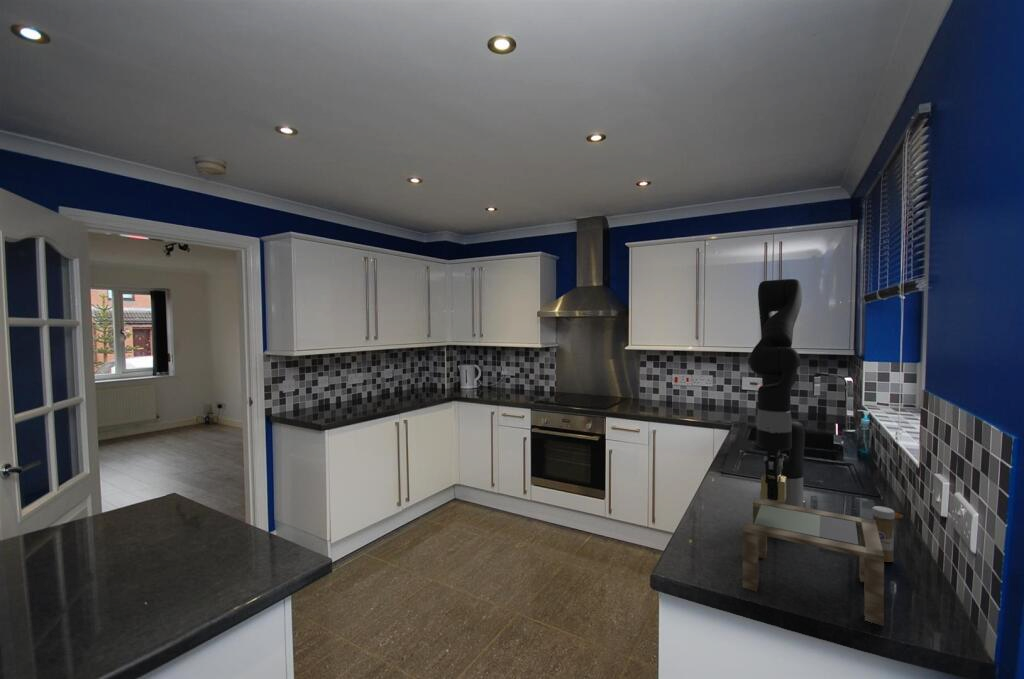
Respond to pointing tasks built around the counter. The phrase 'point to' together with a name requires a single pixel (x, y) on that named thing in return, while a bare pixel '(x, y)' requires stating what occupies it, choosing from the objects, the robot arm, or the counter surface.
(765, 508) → the trapdoor
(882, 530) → the sprinkles bottle
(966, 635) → the counter surface
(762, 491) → the block
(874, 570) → the trapdoor frame
